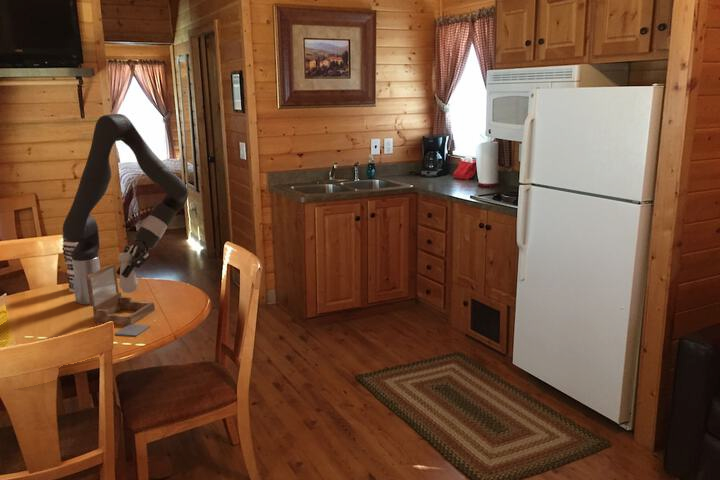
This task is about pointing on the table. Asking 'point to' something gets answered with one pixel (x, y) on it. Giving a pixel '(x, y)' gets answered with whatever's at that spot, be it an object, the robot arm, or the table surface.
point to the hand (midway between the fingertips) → (121, 275)
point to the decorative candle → (69, 260)
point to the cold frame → (113, 299)
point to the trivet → (132, 330)
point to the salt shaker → (131, 281)
